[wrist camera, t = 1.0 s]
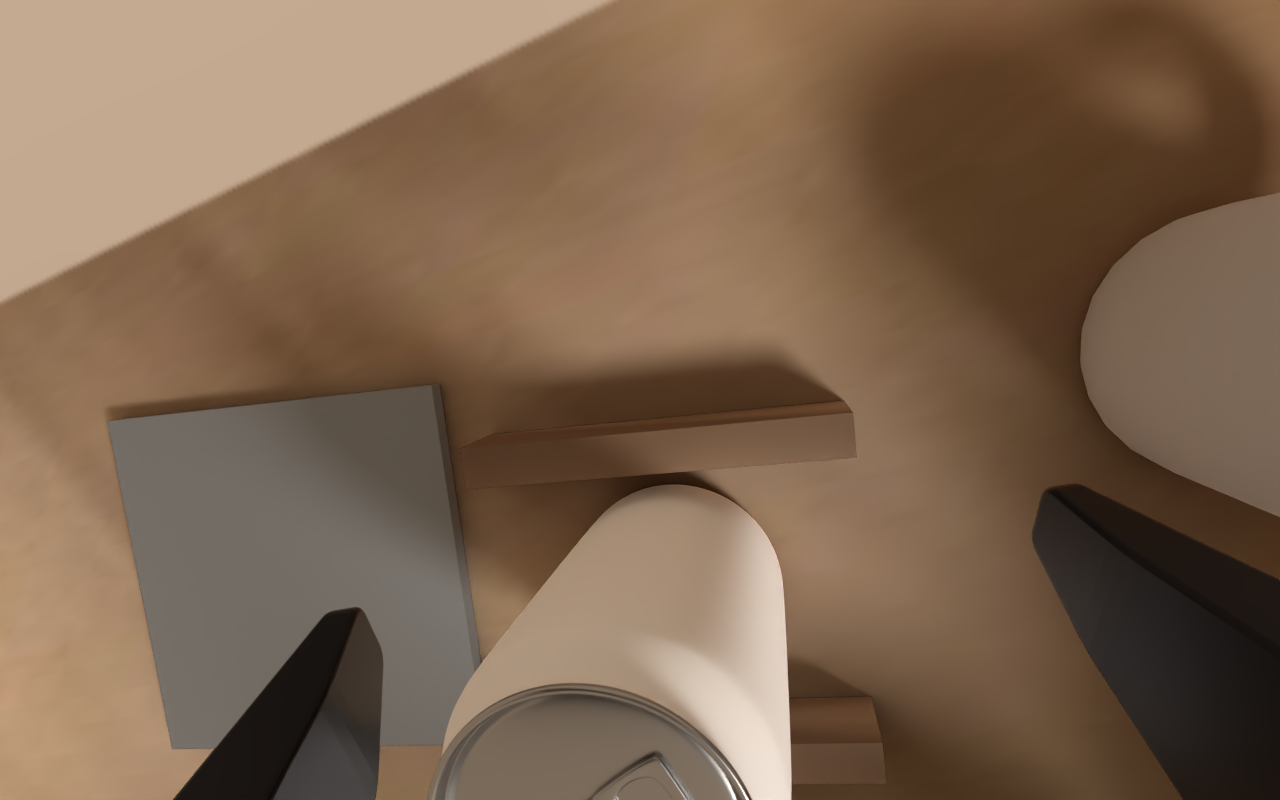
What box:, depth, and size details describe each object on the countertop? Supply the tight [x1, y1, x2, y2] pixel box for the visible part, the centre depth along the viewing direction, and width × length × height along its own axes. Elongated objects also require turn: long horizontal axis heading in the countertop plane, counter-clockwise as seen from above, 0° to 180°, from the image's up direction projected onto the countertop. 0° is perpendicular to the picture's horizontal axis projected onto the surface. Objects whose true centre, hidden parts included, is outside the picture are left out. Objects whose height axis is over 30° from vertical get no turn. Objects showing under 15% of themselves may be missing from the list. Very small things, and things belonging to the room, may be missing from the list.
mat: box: [107, 384, 481, 749], centre depth 26 cm, size 12×12×1 cm
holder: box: [460, 401, 886, 784], centre depth 22 cm, size 10×11×2 cm
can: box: [427, 485, 791, 800], centre depth 18 cm, size 6×6×12 cm
